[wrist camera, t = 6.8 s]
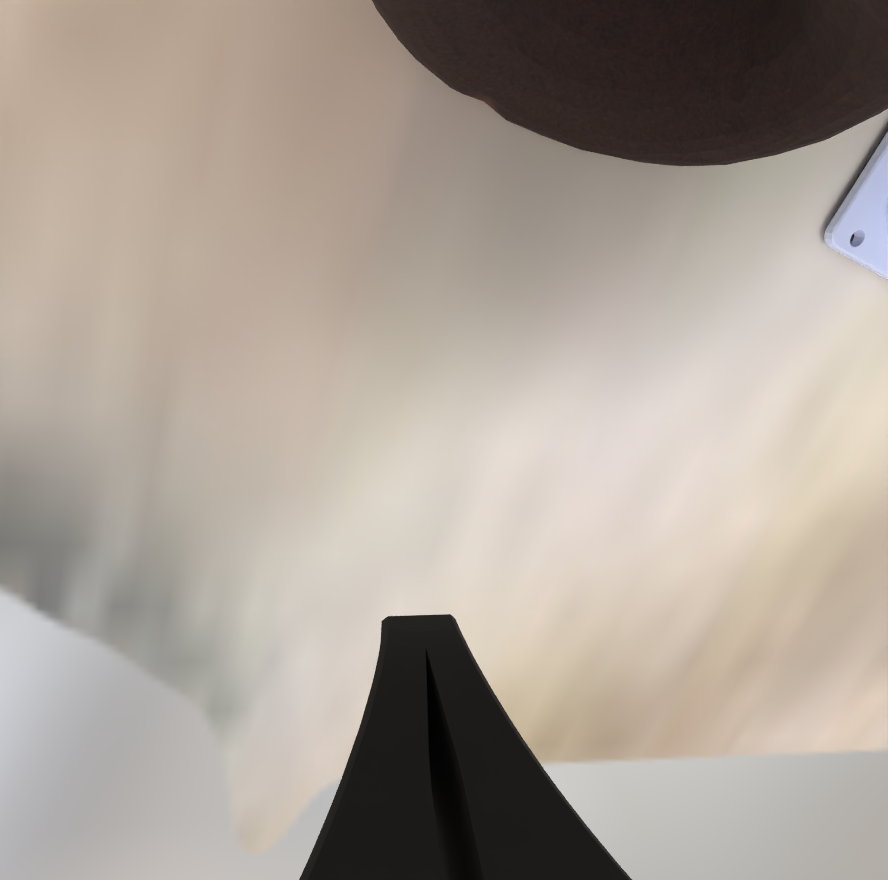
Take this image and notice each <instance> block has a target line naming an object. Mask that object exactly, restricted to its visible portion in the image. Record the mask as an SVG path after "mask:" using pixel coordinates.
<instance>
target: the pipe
mask: <svg viewBox="0 0 888 880" xmlns="http://www.w3.org/2000/svg"><path fill="white" fill-rule="evenodd" d="M372 1H373V3H374V5H375V7H376V9H377V10H378V12H379V13H380V14H381V16H382V17H383V19H384V20H385V21H386V23H387V24H388V26H389V27H390V28H391V30H392V31H393V33H394V34H395V35H396V37H397V38H398V40H399V41H400V42H401V43H402V44H403V45H404V46H405V47H406V49H407V50H408V51H409V52H410V53H411V54H412V55H413V56H414V58H415V59H417V60H418V61H419V62H420V63H421V64H422V65H424V66H425V67H426V68H427V69H429V70H430V71H431V72H432V73H433V74H435V75H436V76H437V77H438V78H440V79H441V80H442V81H443V82H444V83H446V84H447V85H448V86H449V87H451V88H452V89H454V90H456V91H458V92H460V93H462V94H465V95H468V96H471V97H474V98H476V99H479V100H482V101H484V102H486V103H487V104H488V105H489V106H490V107H492V108H493V109H494V110H495V111H496V112H498V113H499V114H500V115H501V116H502V117H504V118H505V119H506V120H508V121H510V122H512V123H515V124H517V125H519V126H522V127H524V128H526V129H529V130H531V131H533V132H536V133H538V134H540V135H543V136H545V137H548V138H551V139H553V140H556V141H559V142H562V143H564V144H567V145H570V146H573V147H575V148H578V149H581V150H585V151H590V152H595V153H600V154H604V155H609V156H614V157H619V158H623V159H628V160H633V161H638V162H644V163H653V164H662V165H674V166H705V165H727V164H732V163H737V162H742V161H747V160H752V159H757V158H762V157H768V156H773V155H777V154H781V153H784V152H787V151H791V150H794V149H797V148H800V147H804V146H807V145H810V144H814V143H817V142H820V141H824V140H826V139H828V138H831V137H833V136H835V135H837V134H839V133H841V132H843V131H845V130H847V129H849V128H851V127H853V126H855V125H857V124H859V123H861V122H863V121H865V120H867V119H869V118H871V117H873V116H875V115H877V114H879V113H881V112H883V111H884V110H886V109H888V0H372Z"/></svg>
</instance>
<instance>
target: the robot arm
mask: <svg viewBox="0 0 888 880" xmlns="http://www.w3.org/2000/svg"><path fill="white" fill-rule="evenodd" d="M853 234H854V239H853V241H852V242H851V243H850V239H851V236H852V235H853ZM824 240H825V244H826V245H827V246H828V247H829V248H831V249H833V250H835V251H837V252H838V253H840V254H842V255H844V256H846V257H847V258H849V259H851V260H853V261H855V262H857V263H858V264H860V265H862V266H864V267H866V268H867V269H869V270H871V271H873V272H875V273H876V274H878V275H880V276H882V277H884V278H885V279H887V280H888V132H887V133H886V135H885V137H884V138H883V140H882V141H881V143H880V144H879V146H878V148H877V149H876V151H875V152H874V154H873V155H872V157H871V159H870V160H869V162H868V163H867V165H866V167H865V168H864V170H863V171H862V173H861V174H860V176H859V178H858V179H857V181H856V182H855V184H854V186H853V187H852V189H851V190H850V192H849V193H848V195H847V197H846V198H845V200H844V201H843V203H842V205H841V206H840V208H839V209H838V211H837V212H836V214H835V216H834V217H833V219H832V220H831V222H830V224H829V225H828V227H827V229H826V231H825V235H824ZM299 880H632V879H631V878H630V877H629V876H628V875H627V873H626V872H625V871H624V870H623V869H622V868H621V867H620V865H619V864H618V863H617V862H616V861H615V860H614V858H613V857H612V856H611V855H610V854H609V852H608V851H607V850H606V849H605V847H604V846H603V845H602V844H601V843H600V841H599V840H598V839H597V838H596V837H595V835H594V834H593V833H592V832H591V830H590V829H589V828H588V827H587V826H586V824H585V823H584V822H583V820H582V819H581V818H580V817H579V815H578V814H577V813H576V811H575V810H574V809H573V808H572V806H571V805H570V804H569V803H568V801H567V800H566V799H565V797H564V796H563V795H562V793H561V792H560V791H559V789H558V788H557V787H556V785H555V784H554V783H553V781H552V780H551V779H550V777H549V776H548V774H547V773H546V771H545V770H544V769H543V767H542V766H541V764H540V763H539V761H538V760H537V759H536V757H535V756H534V754H533V753H532V751H531V750H530V748H529V747H528V746H527V744H526V743H525V741H524V740H523V738H522V737H521V735H520V734H519V732H518V731H517V729H516V727H515V726H514V724H513V723H512V721H511V720H510V718H509V716H508V715H507V713H506V712H505V710H504V708H503V707H502V705H501V703H500V702H499V700H498V699H497V697H496V695H495V694H494V692H493V690H492V689H491V687H490V685H489V684H488V682H487V680H486V678H485V677H484V675H483V673H482V671H481V670H480V668H479V666H478V664H477V662H476V660H475V659H474V657H473V655H472V653H471V651H470V649H469V647H468V645H467V643H466V641H465V639H464V637H463V635H462V633H461V631H460V629H459V626H458V624H457V622H456V620H455V618H454V617H453V616H452V615H450V614H448V615H416V616H388V617H387V618H385V619H384V620H383V621H382V627H381V643H380V650H379V656H378V661H377V666H376V670H375V675H374V679H373V683H372V687H371V690H370V694H369V697H368V701H367V704H366V708H365V711H364V715H363V718H362V721H361V725H360V728H359V731H358V734H357V736H356V739H355V742H354V745H353V748H352V751H351V754H350V756H349V759H348V762H347V765H346V768H345V771H344V774H343V776H342V779H341V782H340V784H339V787H338V790H337V792H336V795H335V797H334V800H333V803H332V805H331V807H330V810H329V813H328V815H327V817H326V820H325V822H324V824H323V827H322V829H321V831H320V834H319V836H318V839H317V841H316V844H315V846H314V848H313V851H312V853H311V855H310V857H309V859H308V862H307V864H306V866H305V868H304V871H303V873H302V875H301V877H300V879H299Z"/></svg>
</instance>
